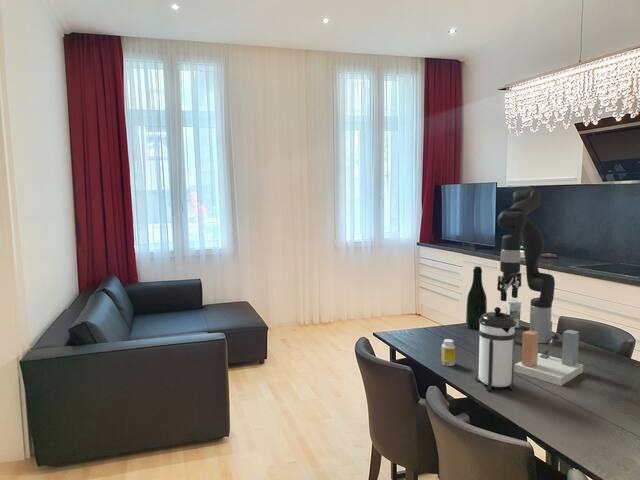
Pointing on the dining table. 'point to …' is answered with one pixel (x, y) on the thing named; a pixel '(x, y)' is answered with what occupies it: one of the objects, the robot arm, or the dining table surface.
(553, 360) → the control board
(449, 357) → the supplement bottle
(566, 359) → the slate slider
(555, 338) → the toggle lever
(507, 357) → the coffee press
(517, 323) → the syrup box
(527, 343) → the terracotta slider
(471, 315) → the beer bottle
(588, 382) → the dining table surface
